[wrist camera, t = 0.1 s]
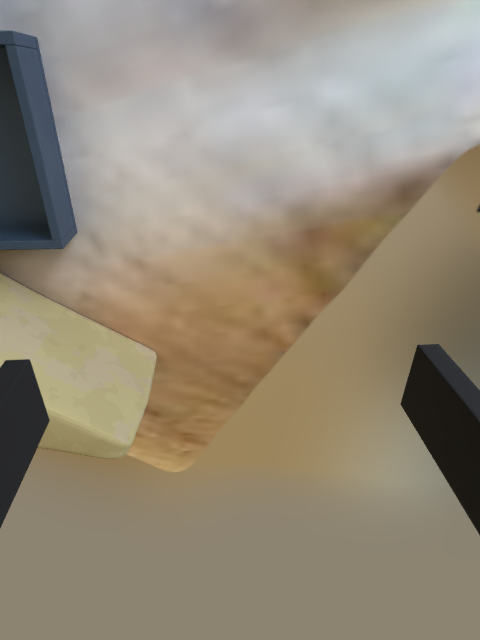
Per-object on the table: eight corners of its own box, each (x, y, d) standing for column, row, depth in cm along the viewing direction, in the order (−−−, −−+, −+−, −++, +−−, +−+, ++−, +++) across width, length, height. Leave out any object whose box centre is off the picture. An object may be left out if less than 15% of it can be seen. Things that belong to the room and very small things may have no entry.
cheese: (171, 324, 45) (158, 421, 32) (141, 385, 49) (118, 493, 36) (-43, 243, 39) (-167, 323, 26) (-57, 321, 43) (-170, 424, 30)
